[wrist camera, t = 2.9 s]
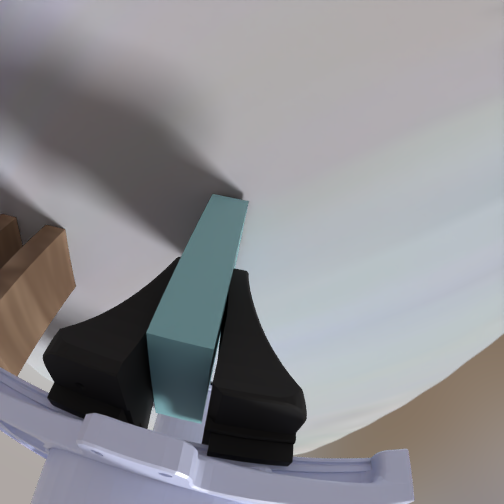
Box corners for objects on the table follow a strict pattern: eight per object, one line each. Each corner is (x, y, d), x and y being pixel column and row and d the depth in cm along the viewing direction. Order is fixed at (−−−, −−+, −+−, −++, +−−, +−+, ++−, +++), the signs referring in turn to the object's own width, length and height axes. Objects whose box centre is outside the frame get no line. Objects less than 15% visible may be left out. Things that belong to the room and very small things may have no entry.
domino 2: (65, 229, 17) (-19, 324, 10) (75, 286, 20) (15, 379, 13) (45, 224, 17) (-38, 313, 10) (57, 280, 20) (-4, 368, 13)
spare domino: (248, 201, 15) (213, 349, 8) (232, 279, 18) (201, 423, 10) (212, 193, 15) (146, 332, 7) (201, 273, 18) (155, 412, 10)
